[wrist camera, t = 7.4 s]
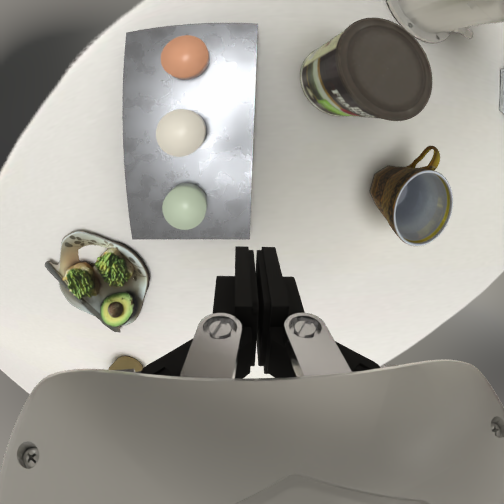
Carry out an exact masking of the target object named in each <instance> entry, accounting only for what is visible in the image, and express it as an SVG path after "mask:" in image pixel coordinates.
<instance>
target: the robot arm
mask: <svg viewBox="0 0 504 504" xmlns="http://www.w3.org/2000/svg"><path fill="white" fill-rule="evenodd" d="M387 3H388V5H389V8H390V10H391V11H392V13H393V15H394V16H395V18H396V19H397V21H398V22H399V23H400V24H401V25H402V26H403V27H404V28H405V29H406V30H407V31H408V32H409V33H410V34H412V35H413V36H415V37H416V38H418V39H420V40H422V41H425V42H429V43H438V42H442V41H444V40H445V39H446V38H447V37H448V36H449V34H450V32H452V31H454V32H456V33H458V32H459V33H461V34H462V35H463V36H465V37H467V38H469V39H471V38H472V37H473V32H472V31H471V30H470V29H469V28H467V27H469V26H475V25H482V24H490V23H498V22H504V0H387ZM256 340H257V353H258V365H259V366H264V374H270V375H272V376H273V377H275V378H259V379H243V378H244V377H245V376H247V375H248V374H249V373H250V366H254V365H255V353H256ZM0 504H504V407H503V405H502V403H501V402H500V400H499V398H498V396H497V395H496V393H495V392H494V390H493V388H492V387H491V385H490V384H489V382H488V381H487V379H486V378H485V377H484V376H483V374H482V373H481V372H480V371H479V370H478V369H477V368H476V367H474V366H473V365H471V364H468V363H465V362H462V361H454V360H431V361H423V362H417V363H410V364H404V365H386V364H384V365H383V367H380V366H379V365H378V364H376V363H375V362H373V361H372V360H370V359H368V358H366V357H364V356H362V355H360V354H358V353H356V352H354V351H352V350H351V349H349V348H347V347H345V346H343V345H341V344H339V343H337V342H336V341H334V339H333V337H332V335H331V334H330V332H329V330H328V328H327V327H326V325H325V323H324V322H323V321H322V319H320V318H319V317H317V316H315V315H313V314H309V313H305V312H304V309H303V305H302V302H301V299H300V295H299V292H298V289H297V285H296V282H295V279H294V277H282V273H281V269H280V265H279V261H278V257H277V253H276V249H275V247H262V250H257V258H256V272H255V262H254V252H253V250H248V247H236V252H235V276H217V278H216V287H215V296H214V306H213V314H210V315H208V316H206V317H204V318H203V319H202V320H201V321H200V323H199V325H198V327H197V330H196V333H195V335H194V338H193V339H191V340H190V341H188V342H186V343H185V344H183V345H181V346H180V347H178V348H176V349H175V350H173V351H171V352H169V353H168V354H166V355H164V356H163V357H161V358H159V359H157V360H156V361H154V362H152V363H150V364H149V365H147V366H146V367H145V368H143V369H142V371H138V372H135V370H134V369H122V370H104V369H73V370H67V371H61V372H57V373H54V374H51V375H48V376H47V377H45V378H43V379H42V380H41V381H40V382H39V383H38V384H37V385H36V387H35V388H34V389H33V391H32V392H31V394H30V395H29V397H28V399H27V400H26V402H25V404H24V406H23V408H22V410H21V412H20V414H19V417H18V419H17V421H16V424H15V426H14V429H13V431H12V434H11V437H10V440H9V443H8V446H7V449H6V452H5V456H4V459H3V463H2V466H1V470H0Z"/></svg>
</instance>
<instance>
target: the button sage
mask: <svg viewBox="0 0 504 504" xmlns="http://www.w3.org/2000/svg"><path fill="white" fill-rule="evenodd" d="M206 209H207V198H206V195H205V193H204V192H203V190H202V189H201V188H199V187H198V186H196V185H194V184H191V183H182V184H179V185H177V186H175V187H174V188H173V189H172V190H171V191H170V192H169V193H168V195H167V196H166V197H165V199H164V201H163V206H162V211H163V215H164V217H165V219H166V221H167V222H168V223H169V224H170V225H171V226H173V227H175V228H177V229H181V230H189V229H192V228H195V227H196V226H198V225H199V224H200V223H201V222H202V220H203V219H204V216H205V213H206Z"/></svg>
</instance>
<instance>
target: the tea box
mask: <svg viewBox="0 0 504 504" xmlns="http://www.w3.org/2000/svg"><path fill="white" fill-rule="evenodd" d="M499 110H500V111H501V112H503V113H504V69H501V83H500V106H499Z"/></svg>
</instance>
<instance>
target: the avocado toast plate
mask: <svg viewBox="0 0 504 504" xmlns="http://www.w3.org/2000/svg"><path fill="white" fill-rule="evenodd" d="M87 245H99V246H102V247H105V248H108V250H106V251H105V252H104V253H103V254H102V255H101V257H98V258H97V261H96V263H87V262H86V261H82V262H81V261H80V260H79V256H78V249H80V248H81V247H83V246H87ZM45 267H46V268H47V270H48V271H49V272H50V273H51V274H52V275H53V276H54V277H55V278H56V279H57V280H58V281H59V285H60V289H61V291H62V293H63V295H64V296H65V298H66V299H67V301H68V302H69V303H70V304H71V305H73V306H74V307H76V308H78V309H80V310H82V311H84V312H87V313H89V314H91V315H93V316H96V317H97V318H98V319H99V320H101V322H102V323H103V324H104V325H105V326H107V327H108V328H110V329H111V330H113V331H114V332H120V326H122V325H128V324H130V323H132V322H133V321H134V320H136V318H137V317H138V315H139V313H140V311H141V307H142V305H143V301H144V297H145V294H146V292H147V289H148V287H149V280H150V275H149V272H148V270H147V268H146V266H145V264H144V262H143V261H142V259H141V258H140V257H139V256H138V255H137V254H136V253H135V252H134V251H132V250H131V249H130V248H128V247H127V246H125V245H123V244H121V243H118V242H113V241H110V240H107V239H105V238H103V237H101V236H98V235H94V234H90V233H86V232H84V231H76V232H71V233H70V234H68V235H67V236H65V237H64V238H63V241H62V244H61V252H60V261H59V264H57V265H55V264H53V263H51V262H50V261H47V262H46V263H45ZM133 278H134V279H133Z"/></svg>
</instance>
